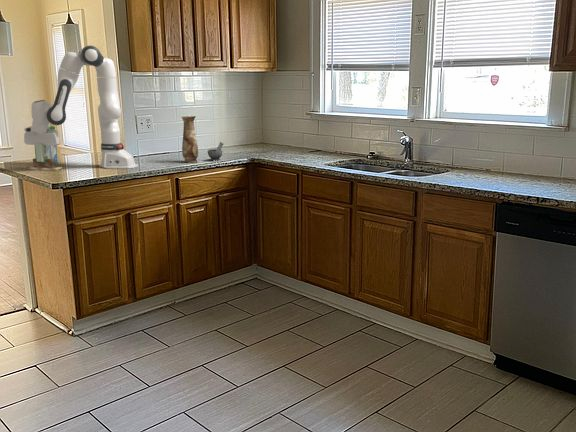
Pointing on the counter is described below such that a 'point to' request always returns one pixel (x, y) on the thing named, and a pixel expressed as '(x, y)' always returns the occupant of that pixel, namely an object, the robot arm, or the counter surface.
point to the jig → (44, 165)
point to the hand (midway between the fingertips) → (42, 152)
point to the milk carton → (51, 150)
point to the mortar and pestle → (216, 152)
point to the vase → (189, 139)
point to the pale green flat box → (41, 153)
